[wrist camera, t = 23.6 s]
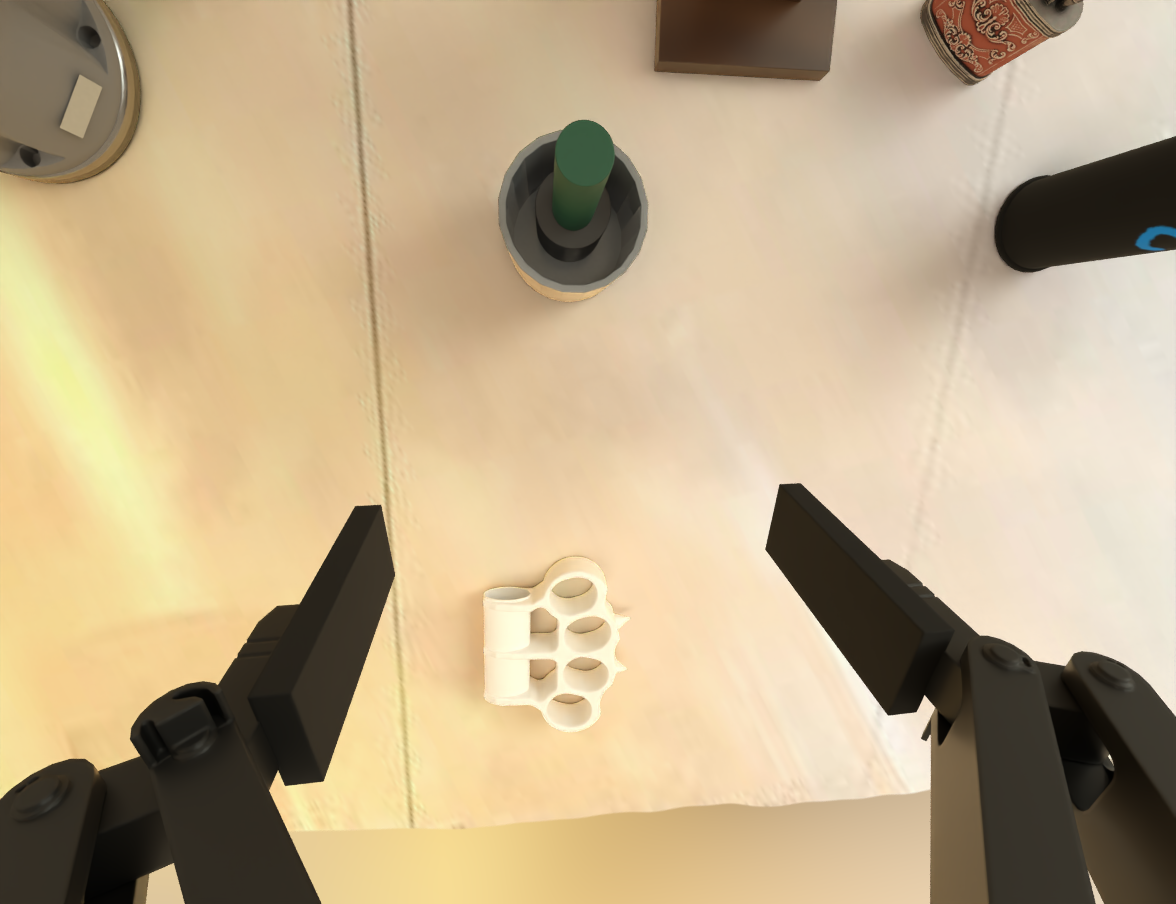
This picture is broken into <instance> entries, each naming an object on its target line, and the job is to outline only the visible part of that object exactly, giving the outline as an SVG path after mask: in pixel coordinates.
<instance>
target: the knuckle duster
mask: <svg viewBox="0 0 1176 904" xmlns="http://www.w3.org/2000/svg"><path fill="white" fill-rule="evenodd" d="M574 577H582V578H585V579H588V580H589V581H591V582H592V583H593V585H592V587H591V588H590V589H589V591H587V592H586V593H584V594H582V595H580V596H576V597H572V598H562V597H559V596H557V595H556V594H555V593H554V592H553V591H552V589H553V587H554V586H555V585H556V584H557V583H559V582H561V581H563V580H567V579H570V578H574ZM607 591H608V589H607V585H606V581H605V576H604V574H603V572H602V570H601V569H600V567H599V566H598V565H597V564H596V563H594V562H593V561H591V560H589V559H587V558H584V557H567V558H564V559H562V560H560V561H558V562H556V563H555V564H554V565H552V566H551V568H550V569H549V570H548V571H547V573H546V575H545V578H544V580H543V581H542V582H541V583H539V584H538V585H536V586H535V587H533V588H519V587H498V588H493V589H489V590H487V591H485V592H484V598H483V606H484V648H483V653H484V680H485V690H484V698H485V700H486V701H487V702H489V703H492V704H495V705H501V706H508V705H532V706H534V707H535V708H537V709H539V710H540V711H541V712H542V715H543V717H544V719H545V720H546V722H547V723H548V724H549V725H550V726H552V727H553V728H555V729H557V730H560V731H564V732H576V731H581V730H583V729H586V728H588V727H589V726H591V725H592V724H594V723H595V722H596V721H597V719H598V718H599V717H600V715H601V710H600V699H601V697H602V695H603V693H604V692H605V691H606V690H607V689H608V688H609V687H610V686H611V685H612V683H613V680H614V678H615V675H616V673H619V672H621V671H624V670H627V668H626V667H625V666H623V665H622V664H621V663H620V662H619V661H618V660H616V656H615V652H614V650H615V647H616V645H617V643H618V641H619V640H620V637H619V633H618V629H619V628H620V627H622V626H623V625H624V624H625V623H626V622H627V621H628V620H629V619H631V618H630V617H626V616H622V615H619V614H615V613H613V609H612V605H611V604H609V603H608V602H607V600H606V599H605V597H606V593H607ZM537 608H545V609H546V610H547V611H548V612H549V613H550V614H551V615H552V616H553V617H555V618H556V619H557V628H556V630H555V631H553V632H551V633H530V612H532V611H533V610H535V609H537ZM588 616H596V617H600V618H602V619H604V620H605V622H604V624H603V625H602V626H601V627H600V628H598V629H596V630H594V631H591V632H587V633H582V634H579V633H574V632H572V631H570V630H569V629H567V627H568V626H569V624H571V623H572V622H573V621H575V620H578V619H581V618H585V617H588ZM579 657H588V658H592V659H596V660H599V661H601V662H602V663H601V664H600V665H599V666H598V667H596V668H595V669H592V670H588V671H583V670H578V669H574V668H571V667H569V666H568V665H567V664H568V663H569V662H570V661H571V660H573V659H575V658H579ZM530 659H552V660H554V661H555V662H556V668H555V669H554V670H553V671H551V672H550V673H548V674H547V675H546V677H545V678H544V679H541V680H537V679H534V678H533V677H531V676H530ZM565 693H569V694H574V695H578V696H582V697H584V699H583V700H581V701H580V702H577V703H574V704H566V703H561V702H557V701H555V700H553V698H554V697H555V696H557V695H560V694H565Z"/></svg>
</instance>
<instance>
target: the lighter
mask: <svg viewBox="0 0 1176 904" xmlns="http://www.w3.org/2000/svg"><path fill="white" fill-rule="evenodd" d="M1082 10H1083V0H927V1H926V2H925V4H924V5H923V8H922V10H921V22H922V24H923V27H924V29H925V31H926V33H927V36H928V38H929V40H930V42H931V44H932V45H933V47H934V49H935V50H936V52H937V54H938V55H939V57H940V58H941V59H942V61H943V62H944V63H945V64H946V65H947V67H948V68H949V69H950V70H951V71H952V72H953V73H954V74H955V75H956V76H957V77H958V78H959V79H960V80H961V81H963V82H964V83H965V84H967V85H974V84H976V83H978V82H980V81H982V80H984V79H985V78H987V77H988V76H989V75H990V74H991V73H992V72H993V71H995V70H996V69H998V68H1000V67H1001V66H1003V65H1005V64H1006V63H1008V62H1010V61H1011V60H1013V59H1015V58H1016V57H1018V56H1020V55H1022V54H1023V53H1025V52H1027V51H1028V50H1030V49H1032V48H1033V47H1035V46H1037V45H1038V44H1040V43H1042V42H1043V41H1045V40H1047V39H1049V38H1054V37H1056V36H1059V35H1060V34H1062V33H1064V32H1065V31H1067V30H1069V29H1070V28H1071V27H1073V26H1074V25H1075V24H1076V22H1077V21H1078V20H1079V18H1080V16H1081V13H1082Z"/></svg>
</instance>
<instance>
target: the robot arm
mask: <svg viewBox="0 0 1176 904" xmlns="http://www.w3.org/2000/svg"><path fill="white" fill-rule="evenodd" d="M139 112H140V81H139V75H138V69H137V65H136V62H135V58H134V55H133V52H132V49H131V47H130V44H129V42H128V40H127V37H126V35H125V33H124V31H123V29H122V28H121V26H120V24H119V22H118V21H117V19H116V18H115V16H114V15H113V13H112V12H111V10H110V9H109V8H108V6H107V5H106V4H105V2H104V1H103V0H0V171H1V172H4V173H7V174H10V175H14V176H17V177H20V178H24V179H27V180H32V181H36V182H44V183H69V182H74V181H79V180H83V179H86V178H89V177H91V176H93V175H96V174H98V173H99V172H101V171H103V170H105V169H106V168H107V167H109V166H110V165H111V164H112V163H114V162H115V161H116V160H117V159H118V158H119V157H120V155H121V154H122V153H123V151H124V150H125V149H126V147H127V146H128V144H129V142H130V140H131V138H132V136H133V134H134V131H135V128H136V125H137V122H138V117H139ZM765 550H766V551H767V552H768V554H769V555H770V556H771V558H772V559H773V560H774V562H775V563H776V565H777V566H778V567H779V569H780V570H781V571H782V573H783V574H784V575H785V577H786V578H787V579H788V581H789V582H790V583H791V585H792V586H793V588H794V589H795V590H796V592H797V593H798V594H799V596H800V597H801V598H802V600H803V601H804V602H805V604H806V605H807V606H808V608H809V609H810V611H811V612H812V613H813V615H814V616H815V617H816V619H817V620H818V621H819V623H820V624H821V625H822V627H823V628H824V629H825V631H826V632H827V634H828V635H829V636H830V638H831V639H832V640H833V642H834V643H835V644H836V646H837V647H838V648H839V650H840V651H841V652H842V654H843V655H844V657H845V658H846V659H847V661H848V662H849V663H850V665H851V666H852V667H853V669H854V670H855V671H856V673H857V674H858V675H859V677H860V678H861V680H862V681H863V682H864V684H865V685H866V686H867V688H868V689H869V690H870V692H871V693H872V694H873V696H874V697H875V698H876V700H877V701H878V703H879V704H880V705H881V707H882V708H883V709H884V711H885V712H886V713H887V715H897V714H905V713H914V712H917V710H918V708H919V706H920V704H921V701H922V699H923V697H924V695H925V696H926V697H927V698H928V699H929V701H930V702H931V703H932V704H933V705H934V706H935V710H934V712H933V714H932V716H931V718H930V720H929V722H928V724H927V726H926V728H925V730H924V732H923V735H922V737H921V739H923V740H925V741H927V739H928V737H929V735H931V865H930V868H931V869H930V872H931V873H930V874H931V875H930V887H931V888H930V904H1096V903H1095V899H1094V895H1093V891H1092V886H1091V882H1090V878H1089V874H1088V871H1089V873H1090V875H1091V877H1092V880H1093V881H1094V884H1095V886H1096V888H1097V890H1098V892H1099V894H1100V896H1101V898H1102V900H1103V902H1104V904H1176V716H1175V715H1174V714H1173V713H1172V711H1171V710H1170V709H1169V708H1168V707H1167V705H1166V704H1165V703H1164V702H1163V700H1162V699H1161V698H1160V697H1159V695H1158V694H1157V693H1156V692H1155V690H1154V689H1153V688H1152V687H1151V686H1150V684H1149V683H1148V682H1147V681H1145V680H1144V679H1143V678H1142V677H1141V676H1140V675H1139V674H1138V673H1136V672H1135V671H1133V670H1132V669H1130V668H1129V667H1127V666H1126V665H1124V664H1122V663H1120V662H1119V661H1116V660H1114V659H1112V658H1109V657H1106V656H1103V655H1100V654H1097V653H1092V652H1083V651H1082V652H1078V653H1074V654H1073V656H1072V657H1071V659H1070V661H1069V662H1068V664H1067V665H1066V666H1061V665H1055V664H1049V663H1044V662H1038V661H1033V660H1032V659H1031V658H1030V657H1029V656H1028V655H1027V654H1026V653H1025V652H1023V651H1022V650H1020V649H1019V648H1017V647H1016V646H1014V645H1012V644H1010V643H1008V642H1006V641H1003V640H1001V639H998V638H994V637H990V636H980V635H978V634H977V633H976V632H975V631H974V630H973V629H972V628H971V627H970V626H969V625H967V624H966V623H965V622H964V621H963V620H962V619H961V618H960V617H959V616H958V615H956V614H955V613H954V612H953V611H952V610H951V609H950V608H949V607H948V606H947V605H945V604H944V603H943V602H942V601H941V600H940V599H939V598H938V597H935V596H934V594H933V593H932V592H931V591H930V590H929V589H928V588H927V587H926V586H923V585H922V583H921V582H920V581H919V580H918V579H917V578H916V577H915V576H914V575H913V574H911V573H910V572H909V571H908V570H906V569H905V568H903V567H901V566H899V565H898V564H896V563H894V562H893V561H891V560H881V559H880V558H879V557H878V556H877V555H876V554H874V553H873V552H872V551H871V550H870V549H869V548H868V547H867V546H866V545H865V544H864V543H863V542H862V541H861V540H860V539H859V538H858V537H857V536H855V535H854V534H853V533H852V532H851V531H850V530H849V529H848V528H847V527H846V526H845V525H844V524H843V523H842V522H841V521H840V520H839V519H838V518H837V517H835V516H834V515H833V514H832V513H831V512H830V511H829V510H828V509H827V508H826V507H825V506H824V505H823V504H822V503H821V502H820V501H819V500H818V499H816V498H815V497H814V496H813V495H812V494H811V493H810V492H809V491H808V490H807V489H806V488H805V487H804V486H803V485H802V484H801V483H797V484H780V485H779V489H778V494H777V498H776V503H775V508H774V512H773V517H772V521H771V526H770V530H769V535H768V539H767V544H766V549H765ZM394 577H395V572H394V567H393V562H392V557H391V552H390V547H389V542H388V537H387V532H386V527H385V522H384V517H383V512H382V507H381V505H370V506H355V508H354V509H353V511H352V513H351V515H350V516H349V518H348V520H347V522H346V523H345V525H344V527H343V529H342V530H341V532H340V534H339V536H338V538H337V539H336V541H335V543H334V545H333V546H332V548H331V550H330V552H329V553H328V555H327V557H326V559H325V560H324V562H323V564H322V566H321V568H320V569H319V571H318V573H317V575H316V576H315V578H314V580H313V582H312V583H311V585H310V587H309V589H308V590H307V592H306V594H305V596H304V598H303V599H302V601H301V603H300V604H297V605H284V606H277V607H275V608H274V609H273V610H272V611H271V612H270V613H268V614H267V615H266V616H265V617H264V618H263V619H261V620H260V621H259V622H258V624H257V625H256V627H255V628H254V630H253V631H252V633H251V635H250V636H249V638H248V639H247V643H245V644H244V645H243V647H242V649H241V650H240V652H239V653H238V657H237V658H235V659H234V661H233V662H232V664H231V666H230V667H229V669H228V670H227V672H226V673H225V675H224V676H223V678H222V680H221V681H220V683H219V684H218V685H217V684H215V683H211V682H204V681H202V682H196V683H190V684H186V685H184V686H181V687H179V688H176V689H174V690H171V691H169V692H168V693H166V694H165V695H163V696H162V697H160V698H158V699H157V700H155V701H154V702H153V703H151V704H150V705H149V706H148V707H147V708H146V709H145V710H144V711H143V712H142V713H141V714H140V715H139V717H138V718H137V720H136V721H135V723H134V724H133V726H132V728H131V736H130V740H131V742H132V743H133V745H134V746H135V748H136V750H137V751H138V753H139V754H140V757H137V758H134V759H131V760H128V761H126V762H123V763H120V764H117V765H114V766H111V767H109V768H106V769H103V770H100V771H97V769H96V768H95V766H94V765H93V764H92V763H90V762H89V761H87V760H86V759H68V760H65V761H62V762H58V763H55V764H52V765H50V766H48V767H46V768H44V769H42V770H40V771H38V772H36V773H34V774H32V775H30V776H29V777H27V778H26V779H24V780H23V781H22V782H20V783H19V784H17V785H16V786H15V787H13V788H12V789H10V790H9V791H8V792H7V793H6V794H5V795H4V796H3V797H2V798H1V799H0V904H146V896H147V887H148V879H149V873H152V872H154V871H156V870H159V869H161V868H163V867H165V866H168V865H170V864H172V863H174V865H175V869H176V872H177V876H178V880H179V884H180V887H181V891H182V895H183V899H184V902H185V904H321V901H320V900H319V897H318V895H317V893H316V891H315V889H314V886H313V884H312V882H311V880H310V878H309V876H308V874H307V872H306V869H305V867H304V865H303V863H302V861H301V859H300V856H299V854H298V852H297V850H296V848H295V846H294V844H293V841H292V839H291V837H290V835H289V833H288V831H287V828H286V826H285V824H284V822H283V820H282V818H281V816H280V813H279V811H278V809H277V807H276V805H275V803H274V800H273V798H272V796H271V794H270V792H269V789H270V787H271V785H272V782H273V780H274V778H275V776H276V773H277V771H279V773H280V775H281V778H282V780H283V782H284V785H285V786H289V785H297V784H306V783H314V782H323V781H324V779H325V776H326V773H327V770H328V767H329V764H330V761H331V758H332V755H333V753H334V750H335V747H336V744H337V741H338V738H339V735H340V732H341V730H342V727H343V724H344V721H345V718H346V715H347V712H348V709H349V706H350V704H351V701H352V698H353V695H354V692H355V689H356V686H357V683H358V680H359V678H360V675H361V672H362V669H363V666H364V663H365V660H366V657H367V655H368V652H369V649H370V646H371V643H372V640H373V637H374V634H375V631H376V629H377V626H378V623H379V620H380V617H381V614H382V611H383V608H384V606H385V603H386V600H387V597H388V594H389V591H390V588H391V585H392V582H393V580H394ZM1109 754H1110V756H1111V758H1112V760H1113V764H1114V766H1113V764H1112V762H1111V761H1110V759H1109V758H1108V756H1109ZM1087 869H1088V870H1087Z"/></svg>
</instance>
